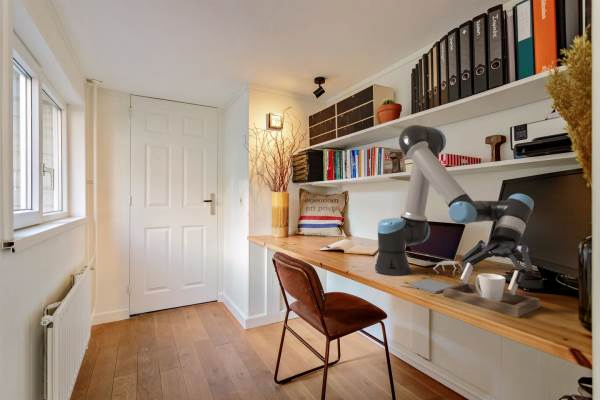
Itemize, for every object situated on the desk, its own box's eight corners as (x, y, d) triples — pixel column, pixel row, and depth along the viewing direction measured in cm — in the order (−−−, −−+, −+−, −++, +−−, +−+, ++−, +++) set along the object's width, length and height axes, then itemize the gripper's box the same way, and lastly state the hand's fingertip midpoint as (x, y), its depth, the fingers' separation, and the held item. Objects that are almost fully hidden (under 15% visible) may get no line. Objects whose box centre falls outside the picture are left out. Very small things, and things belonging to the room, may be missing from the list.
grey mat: (408, 286, 106) (408, 283, 106) (427, 281, 112) (427, 279, 112) (435, 293, 97) (435, 291, 97) (454, 288, 103) (454, 285, 103)
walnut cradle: (443, 296, 94) (443, 288, 94) (466, 289, 101) (465, 282, 101) (518, 317, 76) (517, 308, 76) (539, 307, 83) (539, 298, 83)
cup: (490, 307, 84) (489, 279, 84) (466, 296, 94) (465, 271, 94) (512, 306, 84) (511, 278, 85) (486, 295, 94) (485, 270, 94)
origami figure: (447, 269, 129) (446, 258, 129) (464, 273, 122) (464, 262, 122) (427, 273, 124) (427, 261, 124) (445, 277, 117) (444, 265, 117)
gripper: (560, 244, 86) (540, 305, 78) (473, 237, 107) (451, 284, 100) (552, 228, 83) (530, 289, 75) (465, 223, 105) (441, 271, 97)
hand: (485, 286), depth 87 cm, fingers open, 13 cm apart
